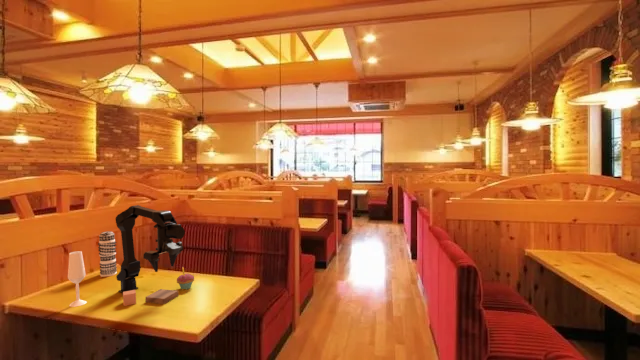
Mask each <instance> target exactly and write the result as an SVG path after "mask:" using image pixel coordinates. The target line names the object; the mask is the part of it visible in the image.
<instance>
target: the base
mask: <svg viewBox="0 0 640 360" xmlns="http://www.w3.org/2000/svg"><path fill="white" fill-rule="evenodd" d="M177 297H179V290H173V289H163V288H161V289H158V290H156V291H155V292H154V291H153V292H152V293H151V294H148V295H147V296H145V303H150V304H159V305H165V304H167V303H168V302H170V301H172V300H174V299H176V298H177Z"/></svg>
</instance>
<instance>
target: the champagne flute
mask: <svg viewBox="0 0 640 360" xmlns="http://www.w3.org/2000/svg"><path fill="white" fill-rule="evenodd" d="M85 277H86V269H85V262H84V256H83V251H82V250H80V251H79V250H78V251H71V252H69V254H68V267H67V280H69V281H70V282H71V283H73V284H75V295H76V296H75V297H76V298H75V301H72V302H71V303H70V304H69V307H70V308H74V307H75V308H76V307H80V306H84V305H85V304H87V303H88V301H86V300H83V299H81V298H80V285H79V283H81V282H82V281H83V280H84V279H85Z"/></svg>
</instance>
